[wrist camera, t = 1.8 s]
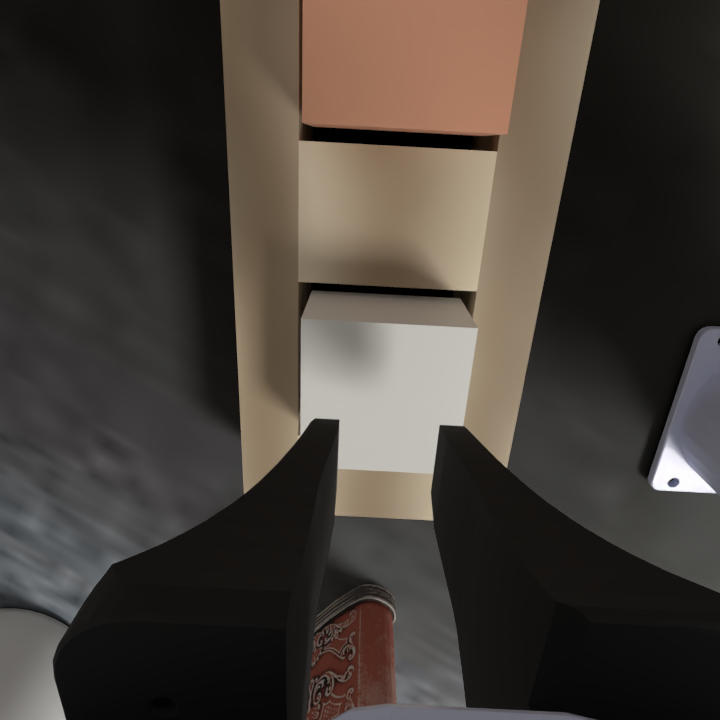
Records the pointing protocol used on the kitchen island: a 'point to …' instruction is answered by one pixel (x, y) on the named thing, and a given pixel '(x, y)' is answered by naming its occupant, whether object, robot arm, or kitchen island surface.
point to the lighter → (353, 654)
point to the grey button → (386, 374)
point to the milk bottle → (29, 665)
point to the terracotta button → (411, 64)
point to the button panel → (389, 229)
